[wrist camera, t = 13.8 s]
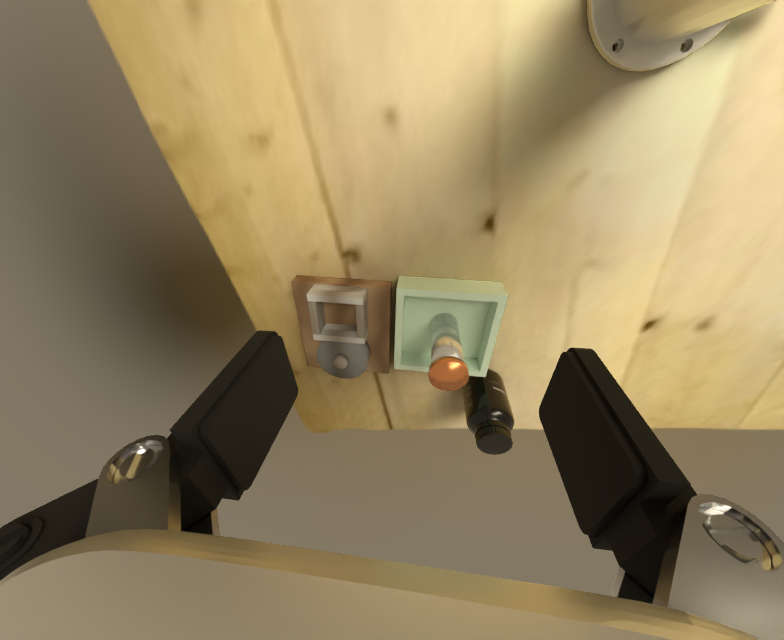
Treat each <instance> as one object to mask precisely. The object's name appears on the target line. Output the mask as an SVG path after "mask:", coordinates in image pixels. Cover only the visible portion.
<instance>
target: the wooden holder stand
mask: <svg viewBox="0 0 784 640" xmlns="http://www.w3.org/2000/svg"><path fill="white" fill-rule="evenodd" d="M292 287H293V292H294V297H295V302H296V307H297V312H298V318H299V323H300V328H301V333H302V338H303V344H304V349H305V354H306V359H307V364H308V366H312V367H322V368H323V369H324V370H325V371H326V372H328V373H329V374H331V375H333V376H336V377H340V378H354V377H357V376H359V375H361V374H362V373H363V372H364V371H367V372H378V373H389V369H390V347H391V303H392V282H391V281H376V280H360V279H345V278H329V277H314V276H299V275H297V276H296V277H295V278H294V279H293V280H292Z"/></svg>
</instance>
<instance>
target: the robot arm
mask: <svg viewBox="0 0 784 640" xmlns="http://www.w3.org/2000/svg"><path fill="white" fill-rule="evenodd" d="M773 1H776V0H587V19H588V26H589V32H590V35H591V37H592V40H593V43H594V46H595V47H596V49H597V50H598V52H599V53H600V55H601V56H602V57H603V58H604V59H605V60H606V61H608V62H609V63H610V64H611V65H613V66H615V67H618V68H620V69H622V70H628V71H636V72H637V71H646V70H653V69H656V68H660V67H663V66H666V65H669V64H671V63H674V62H676V61H679V60H681V59H683V58H685V57H686V56H688V55H690V54H691V53H693V52H695V51H696V50H698V49H700V48H701V47H702V46H703V45H705V44H706V43H707V42H709V41H710V40H711V39H712V38H714V37H715V36H716V35H717V34H718V33H719V32H720V31H721V30H722V29H723V28H724V27H725V26H727V25H728V24H729V23H730V22H731V21H732V20H733V19H734V17H735V16H738V15H740V14H743V13H745V12H748V11H750V10H753V9H756V8H758V7H761V6H763V5H766V4H768V3H771V2H773ZM613 45H615V50H614V51H613V50H612V46H613ZM681 46H682V48H681ZM680 48H681V50H680ZM297 394H298V387H297V384H296V381H295V378H294V374H293V371H292V368H291V365H290V362H289V358H288V355H287V352H286V349H285V346H284V342H283V339H282V337H281V336H278V334H277V333H276V332H274V331H257V332H256V333H255V334H254V335H253V336H252V337H251V339H250V340H249V341H248V342H247V343H246V344H245V345H244V347H243V348H242V349H241V350H240V351H239V352H238V353H237V354H236V355H235V356H234V358H233V359H232V360H231V361H230V362H229V363H228V364H227V366H226V367H225V368H224V369H223V370H222V371H221V372H220V373H219V375H218V376H217V377H216V378H215V379H214V380H213V381H212V382H211V384H210V385H209V386H208V387H207V388H206V389H205V390H204V392H203V393H202V394H201V395H200V396H199V397H198V398H197V399H196V401H195V402H194V403H193V404H192V405H191V406H190V407H189V408H188V410H187V411H186V412H185V413H184V414H183V415H182V416H181V418H180V419H179V420H178V421H177V422H176V423H175V424H174V425H173V427H172V428H171V429H170V431H171V432H172V433H171V434H170V436H169V437H168V438H166V437H164V436H161V435H151V436H146V437H143V438H140V439H137V440H136V441H134V442H131V443H129V444H128V445H126V446H125V447H123V448H122V449H120V450H119V451H118V452H117V453H115V454H114V456H112V457H111V458H110V459H109V460H108V462H107V463H106V464H105V466H104V467H103V468H102V470H101V473H100V475H99V478H98V479H96V480H94V481H92V482H90V483H88V484H86V485H84V486H82V487H80V488H78V489H76V490H74V491H72V492H69V493H67V494H65V495H63V496H61V497H59V498H57V499H55V500H53V501H51V502H49V503H47V504H45V505H43V506H41V507H39V508H37V509H35V510H33V511H31V512H29V513H27V514H24V515H23V516H20V517H19V518H17V519H15V520H13V521H11V522H10V523H8V524H6V525H4V526H3V527H1V528H0V640H784V543H783V542H782V541H781V540H780V539H779V537H778V536H777V535H776V534H775V533H774V532H773V531H772V530H771V529H770V528H769V527H768V526H767V525H766V524H764V523H763V522H762V521H761V520H760V519H758V518H757V517H756V516H755V515H753V514H751V513H750V512H749V511H747V510H745V509H744V508H742V507H741V506H739V505H737V504H735V503H733V502H731V501H729V500H726V499H724V498H721V497H717V496H714V495H706V494H699V495H697V494H696V492H695V491H694V490H693V488H692V487H691V484H690V483H689V481H688V480H687V479H686V477H685V476H684V474H683V473H682V472H681V470H680V469H679V468H678V466H677V465H676V463H675V462H674V461H673V459H672V458H671V457H670V455H669V454H668V452H667V451H666V449H665V448H664V447H663V446H662V444H661V443H660V441H659V440H658V439H657V437H656V436H655V434H654V433H653V432H652V430H651V429H650V427H649V426H648V425H647V423H646V422H645V420H644V419H643V418H642V416H641V415H640V413H639V412H638V411H637V409H636V408H635V407H634V405H633V404H632V402H631V401H630V400H629V398H628V397H627V395H626V394H625V393H624V391H623V390H622V389H621V387H620V386H619V384H618V383H617V382H616V380H615V379H614V377H613V376H612V375H611V373H610V372H609V371H608V369H607V368H606V366H605V365H604V364H603V362H602V361H601V359H600V358H599V357H598V355H597V354H596V353H595V351H594V350H592V349H585V348H570V349H568V351H567V352H563V353H562V354H561V356H560V358H559V361H558V363H557V366H556V368H555V371H554V373H553V375H552V378H551V380H550V383H549V385H548V388H547V390H546V393H545V395H544V398H543V400H542V402H541V405H540V408H539V417H540V420H541V423H542V426H543V428H544V431H545V434H546V436H547V439H548V442H549V445H550V447H551V450H552V453H553V456H554V459H555V461H556V464H557V467H558V470H559V472H560V475H561V478H562V480H563V483H564V486H565V489H566V491H567V494H568V497H569V500H570V502H571V505H572V508H573V511H574V513H575V516H576V519H577V522H578V524H579V527H580V529H581V530H582V532H583V533H584V534H586V535H588V536H589V539H590V542H591V544H592V547H593V548H596V549H604V550H612V551H613V552H614V555H615V557H616V559H617V562H618V564H619V569H618V572H617V575H616V578H615V581H614V584H613V587H612V590H611V593H610V596H606V595H600V594H595V593H589V592H583V591H577V590H572V589H566V588H560V587H554V586H548V585H541V584H535V583H528V582H522V581H516V580H509V579H503V578H497V577H490V576H484V575H478V574H471V573H465V572H458V571H452V570H446V569H439V568H432V567H425V566H419V565H413V564H406V563H400V562H393V561H387V560H380V559H373V558H367V557H359V556H353V555H347V554H340V553H334V552H327V551H320V550H314V549H307V548H300V547H293V546H286V545H279V544H272V543H266V542H259V541H252V540H245V539H238V538H232V537H224V536H220V531H219V522H218V513H217V506H218V504H219V503H220V501H221V499H222V498H225V499H232V500H239V499H240V497H241V495H242V493H243V492H244V490H247V489H249V487H250V486H251V485H252V483H253V481H254V479H255V477H256V475H257V473H258V471H259V469H260V467H261V465H262V463H263V461H264V460H265V457H266V456H267V454H268V452H269V450H270V448H271V446H272V444H273V442H274V440H275V438H276V436H277V434H278V433H279V431H280V429H281V427H282V425H283V423H284V421H285V419H286V417H287V415H288V413H289V411H290V409H291V407H292V405H293V404H294V402H295V400H296V398H297Z"/></svg>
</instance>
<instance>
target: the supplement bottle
mask: <svg viewBox="0 0 784 640" xmlns="http://www.w3.org/2000/svg"><path fill="white" fill-rule="evenodd" d="M462 388H463V397H464V405H465V413H466V421H467V426H468V428H469V429H470V430H471V432H472V433H473V434H475V438H476V443H477V447H478V448H479V449H480V450H481V451H482V452H485V453H487V454H492V455H493V454H495V455H496V454H502V453H505V452H507V451H508V450H510V449H511V447H512V444H513V442H512V438H511V432H510V431H511V430H512V428H513V426H514V418H513V414H512V410H511V407H510V404H509V400H508V397H507V393H506V390H505V386H504V383H503V380H502V378H501V377H500V375H499V374H497V373H496V372H494V371H491V370H487V374H486V377H478V376H469V380H468V382H467V383H466V384H465V385H464V386H463V387H462Z"/></svg>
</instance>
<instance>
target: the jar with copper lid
mask: <svg viewBox="0 0 784 640" xmlns="http://www.w3.org/2000/svg"><path fill="white" fill-rule="evenodd" d="M429 380H430V382H431V384H432V385H433V386H435V387H436V388H438V389H441V390H445V391H453V390H457V389H460V388H462V387H463V386H464V385H465V384H466V383H467V382H468V380H469V372H468V367H467V365H466V363H465V362H464V358H463V352H462V346H461V339H460V333H459V327H458V321H457V319H456V318H455V317H454V316H453V315H452V314H449V313H440V314H438V315H436V316H434V317H433V319H432V320H431V365H430V367H429Z"/></svg>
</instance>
